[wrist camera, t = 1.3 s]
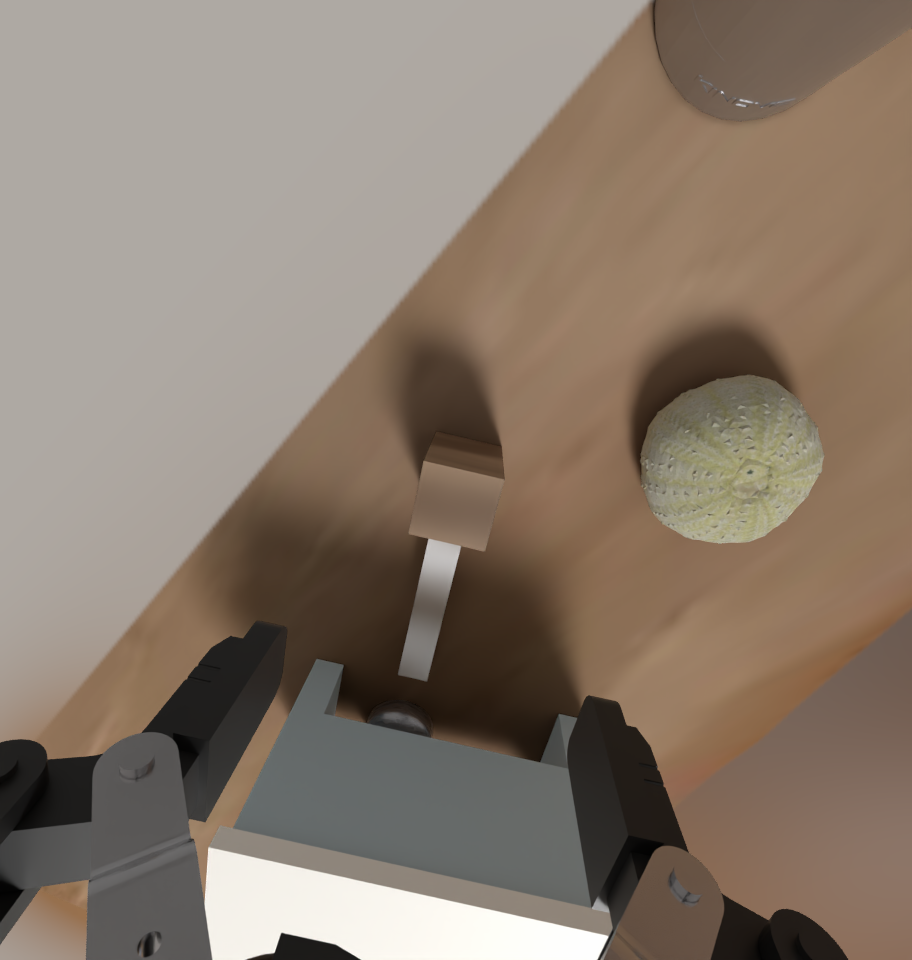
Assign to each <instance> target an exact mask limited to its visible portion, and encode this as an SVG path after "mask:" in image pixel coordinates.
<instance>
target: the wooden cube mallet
mask: <svg viewBox="0 0 912 960" xmlns="http://www.w3.org/2000/svg"><path fill="white" fill-rule="evenodd" d="M504 480H505V478H504V467H503V456H502V446H498V445H493V444H489V443H485V442H481V441H476V440H472V439H468V438H463V437H459V436H455V435H451V434H446V433H442V432H438V431H436V433H435V435H434V438H433V440H432V442H431V445H430V447H429V449H428V452H427V454H426V456H425V459H424V461H423V466H422V471H421V476H420V481H419V485H418V490H417V495H416V500H415V504H414V509H413V514H412V519H411V523H410V528H409V533H408V534H410V535H415V536H419V537H423V538H428V544H427V548H426V553H425V557H424V561H423V566H422V570H421V575H420V579H419V584H418V588H417V592H416V597H415V601H414V606H413V610H412V614H411V619H410V623H409V628H408V632H407V637H406V641H405V645H404V650H403V654H402V659H401V663H400V667H399V672H398V675H401V676H405V677H410V678H414V679H419V680H423V681H427V679H428V675H429V671H430V667H431V663H432V659H433V655H434V651H435V647H436V643H437V639H438V635H439V631H440V628H441V624H442V620H443V616H444V612H445V608H446V604H447V600H448V596H449V592H450V588H451V584H452V580H453V576H454V572H455V568H456V564H457V561H458V557H459V553H460V549H461V546H463V547H467V548H471V549H476V550H480V551H484V552H485V550H486V546H487V542H488V539H489V535H490V531H491V528H492V524H493V520H494V517H495V513H496V510H497V506H498V502H499V499H500V495H501V491H502V488H503V484H504Z"/></svg>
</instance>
